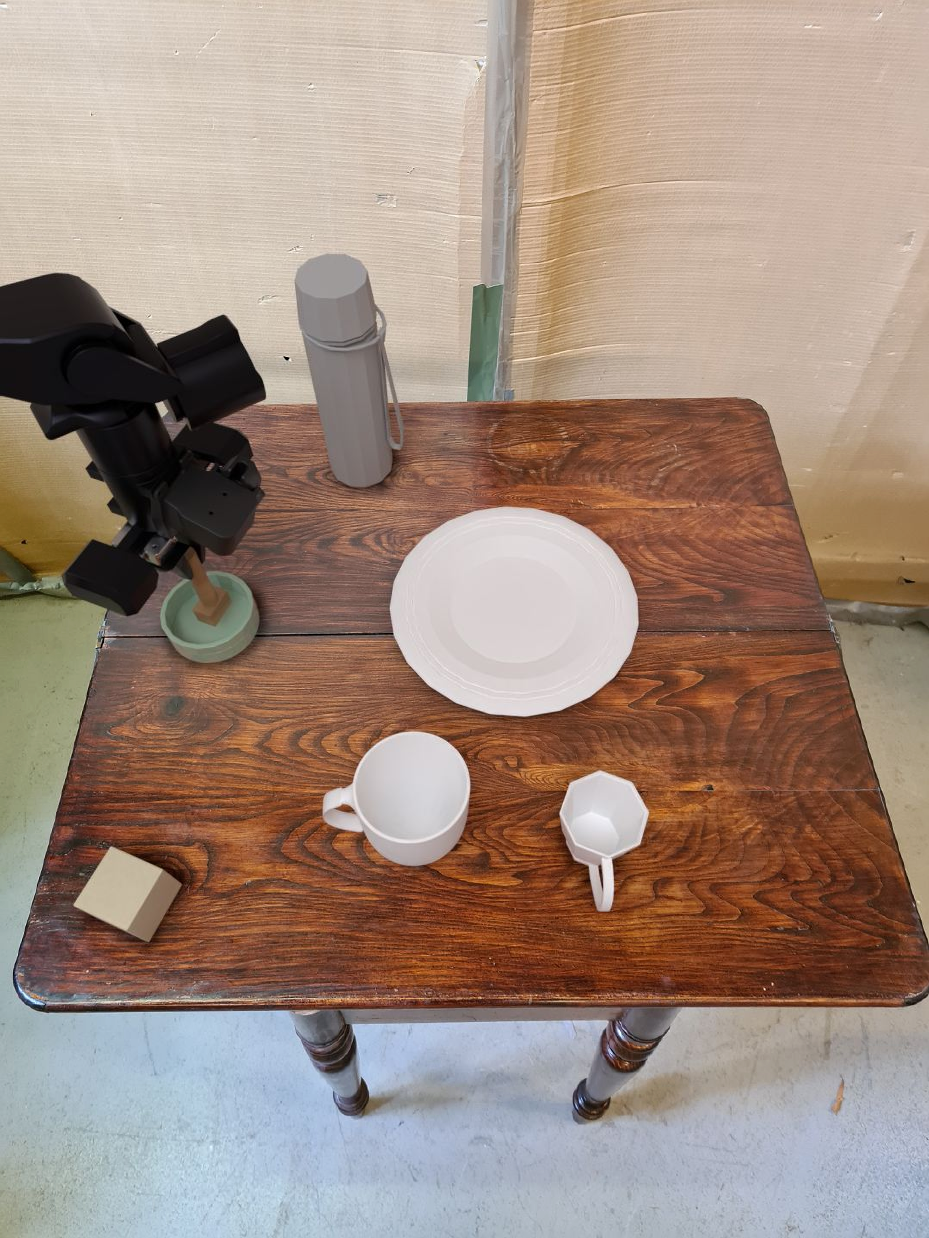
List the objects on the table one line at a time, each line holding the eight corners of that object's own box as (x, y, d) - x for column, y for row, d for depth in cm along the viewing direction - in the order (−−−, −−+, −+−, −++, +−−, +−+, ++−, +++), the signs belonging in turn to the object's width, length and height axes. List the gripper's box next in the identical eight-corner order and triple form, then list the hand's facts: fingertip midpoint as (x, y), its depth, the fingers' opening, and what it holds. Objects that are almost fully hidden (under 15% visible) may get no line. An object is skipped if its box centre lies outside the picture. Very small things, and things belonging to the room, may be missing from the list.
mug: (467, 780, 72) (466, 726, 62) (473, 880, 67) (474, 839, 57) (337, 788, 72) (315, 735, 61) (335, 889, 67) (310, 849, 57)
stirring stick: (197, 620, 77) (166, 563, 69) (215, 595, 79) (186, 536, 71) (215, 627, 77) (185, 570, 69) (232, 601, 78) (205, 543, 70)
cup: (626, 802, 71) (643, 769, 64) (640, 920, 65) (660, 898, 59) (547, 803, 71) (556, 770, 64) (555, 920, 65) (565, 898, 59)
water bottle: (319, 485, 90) (274, 293, 69) (346, 437, 94) (310, 242, 73) (395, 504, 89) (372, 314, 68) (419, 454, 93) (404, 260, 71)
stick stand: (97, 918, 66) (72, 905, 61) (133, 861, 68) (110, 845, 64) (149, 942, 65) (126, 930, 60) (182, 884, 67) (163, 869, 63)
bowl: (152, 646, 79) (141, 630, 77) (201, 576, 84) (192, 559, 81) (230, 675, 78) (222, 661, 75) (275, 603, 82) (269, 586, 79)
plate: (578, 767, 72) (581, 759, 71) (344, 658, 78) (342, 649, 77) (670, 568, 84) (674, 557, 82) (460, 486, 90) (460, 475, 89)
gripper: (152, 577, 52) (216, 684, 66) (288, 393, 62) (320, 520, 75) (15, 527, 55) (103, 641, 68) (166, 357, 64) (218, 487, 77)
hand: (193, 569), depth 72 cm, fingers closed on stirring stick, 2 cm apart
